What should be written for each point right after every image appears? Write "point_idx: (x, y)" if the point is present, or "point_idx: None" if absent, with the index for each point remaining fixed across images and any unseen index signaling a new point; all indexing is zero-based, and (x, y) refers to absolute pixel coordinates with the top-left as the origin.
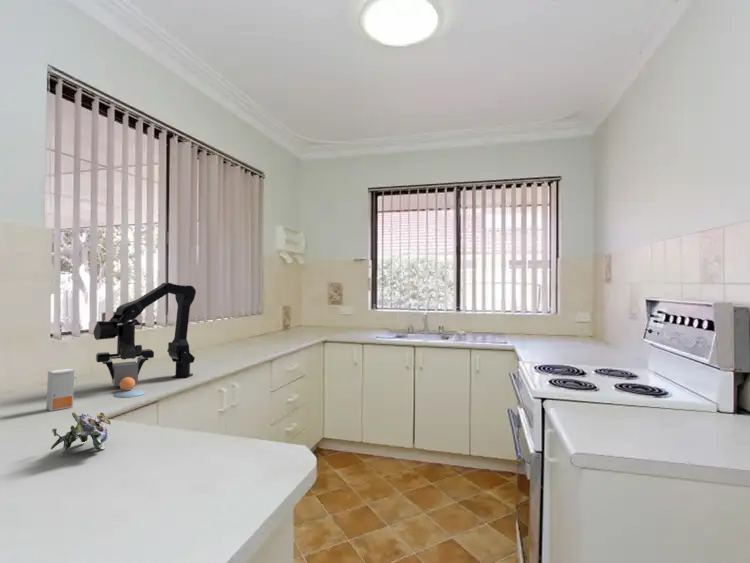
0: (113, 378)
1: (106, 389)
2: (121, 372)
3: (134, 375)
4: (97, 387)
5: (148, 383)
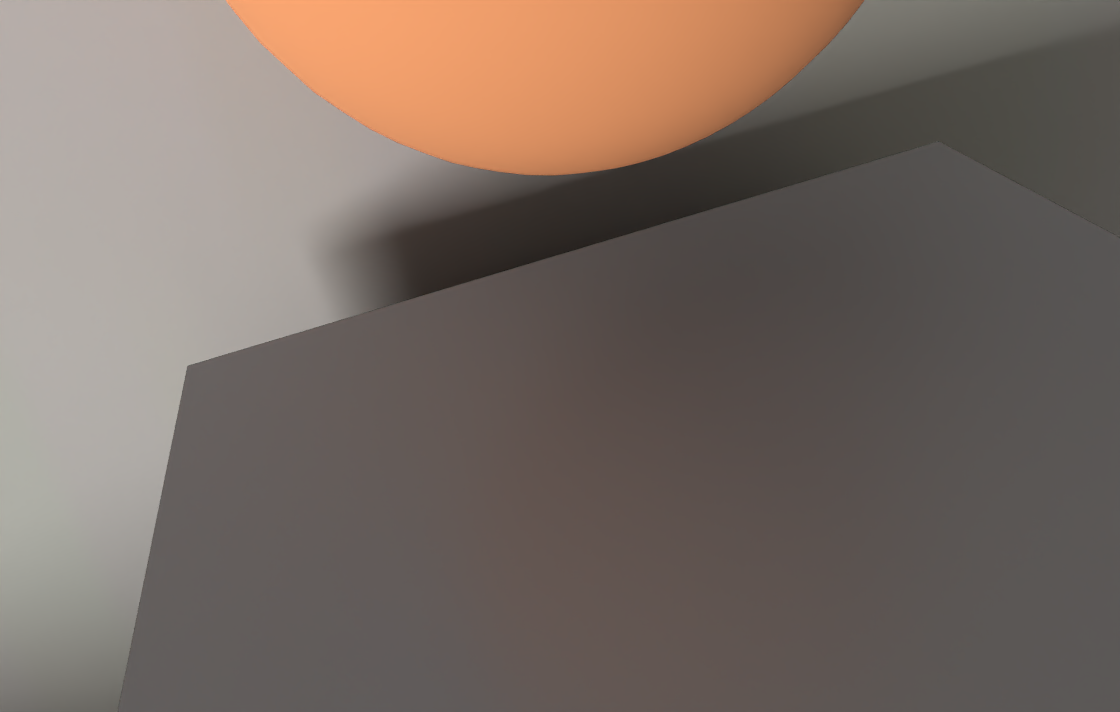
0: None
1: None
2: (1104, 518)
3: (320, 553)
4: None
5: (14, 668)
